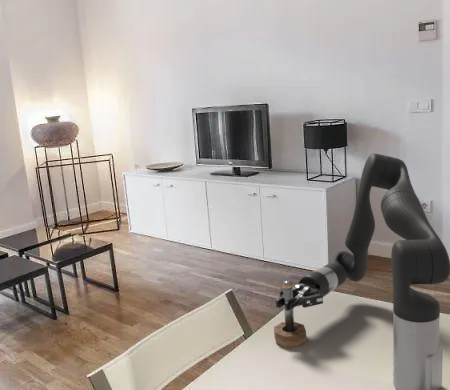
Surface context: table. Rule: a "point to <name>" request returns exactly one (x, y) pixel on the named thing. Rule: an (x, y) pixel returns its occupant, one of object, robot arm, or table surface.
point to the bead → (290, 335)
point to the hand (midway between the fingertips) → (281, 305)
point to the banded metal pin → (290, 314)
